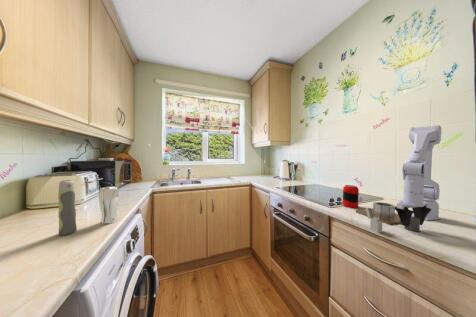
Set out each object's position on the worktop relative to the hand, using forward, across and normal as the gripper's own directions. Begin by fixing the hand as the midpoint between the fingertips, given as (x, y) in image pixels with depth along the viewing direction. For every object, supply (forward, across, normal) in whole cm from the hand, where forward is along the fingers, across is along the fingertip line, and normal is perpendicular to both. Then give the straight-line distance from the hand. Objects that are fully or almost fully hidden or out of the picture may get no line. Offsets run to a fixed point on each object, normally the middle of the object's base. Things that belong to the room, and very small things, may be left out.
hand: (411, 224), depth 71 cm
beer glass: (+2, +123, -36) cm, 128 cm away
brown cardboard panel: (+2, -4, -14) cm, 15 cm away
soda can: (+2, -2, -31) cm, 31 cm away
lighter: (+2, +15, -4) cm, 16 cm away
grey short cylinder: (+2, 0, 0) cm, 2 cm away
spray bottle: (+2, +133, -27) cm, 136 cm away
